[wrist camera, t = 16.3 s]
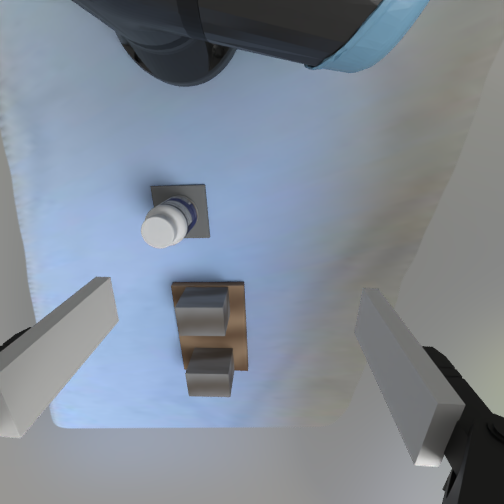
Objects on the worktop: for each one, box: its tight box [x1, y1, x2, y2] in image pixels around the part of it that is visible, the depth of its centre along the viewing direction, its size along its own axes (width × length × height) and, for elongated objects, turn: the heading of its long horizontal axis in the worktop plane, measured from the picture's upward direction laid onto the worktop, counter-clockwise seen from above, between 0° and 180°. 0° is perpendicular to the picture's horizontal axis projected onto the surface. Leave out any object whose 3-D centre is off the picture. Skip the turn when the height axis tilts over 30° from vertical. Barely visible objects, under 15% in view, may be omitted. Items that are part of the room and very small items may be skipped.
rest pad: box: [151, 185, 210, 238], centre depth 42 cm, size 8×8×1 cm
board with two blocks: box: [171, 282, 248, 397], centre depth 46 cm, size 18×12×7 cm, turn 2°
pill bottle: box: [141, 196, 198, 248], centre depth 37 cm, size 5×5×10 cm
